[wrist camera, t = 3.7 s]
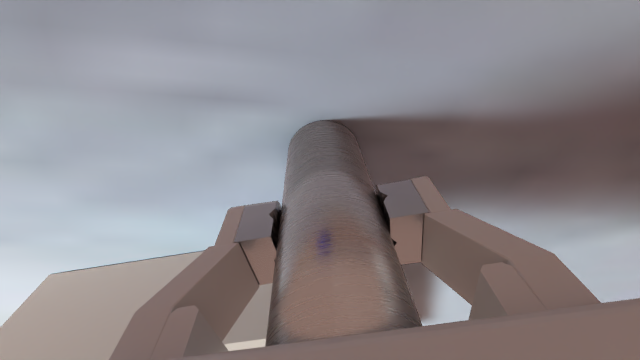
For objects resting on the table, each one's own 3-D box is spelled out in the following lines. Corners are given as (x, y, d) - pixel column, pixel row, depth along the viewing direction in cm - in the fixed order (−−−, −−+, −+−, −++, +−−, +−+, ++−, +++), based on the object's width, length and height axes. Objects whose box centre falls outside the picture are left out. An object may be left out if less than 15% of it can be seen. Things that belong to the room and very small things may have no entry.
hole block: (337, 230, 14) (350, 327, 10) (355, 323, 19) (368, 415, 15) (49, 274, 15) (-49, 379, 11) (136, 352, 20) (92, 445, 16)
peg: (355, 114, 11) (520, 506, 2) (361, 177, 12) (473, 540, 4) (280, 127, 11) (197, 537, 3) (296, 188, 13) (277, 558, 4)
